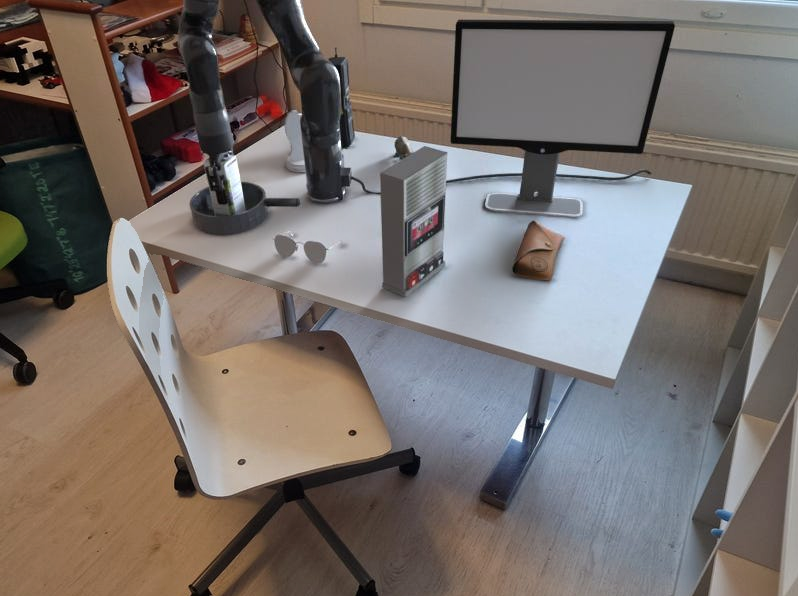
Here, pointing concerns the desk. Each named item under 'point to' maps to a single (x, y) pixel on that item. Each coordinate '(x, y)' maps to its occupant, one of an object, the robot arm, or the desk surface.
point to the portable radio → (344, 101)
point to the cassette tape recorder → (413, 219)
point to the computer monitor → (555, 95)
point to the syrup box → (229, 188)
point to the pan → (231, 223)
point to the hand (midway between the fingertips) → (227, 196)
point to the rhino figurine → (403, 147)
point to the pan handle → (282, 202)
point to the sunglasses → (311, 248)
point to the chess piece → (294, 142)
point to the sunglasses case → (537, 253)
